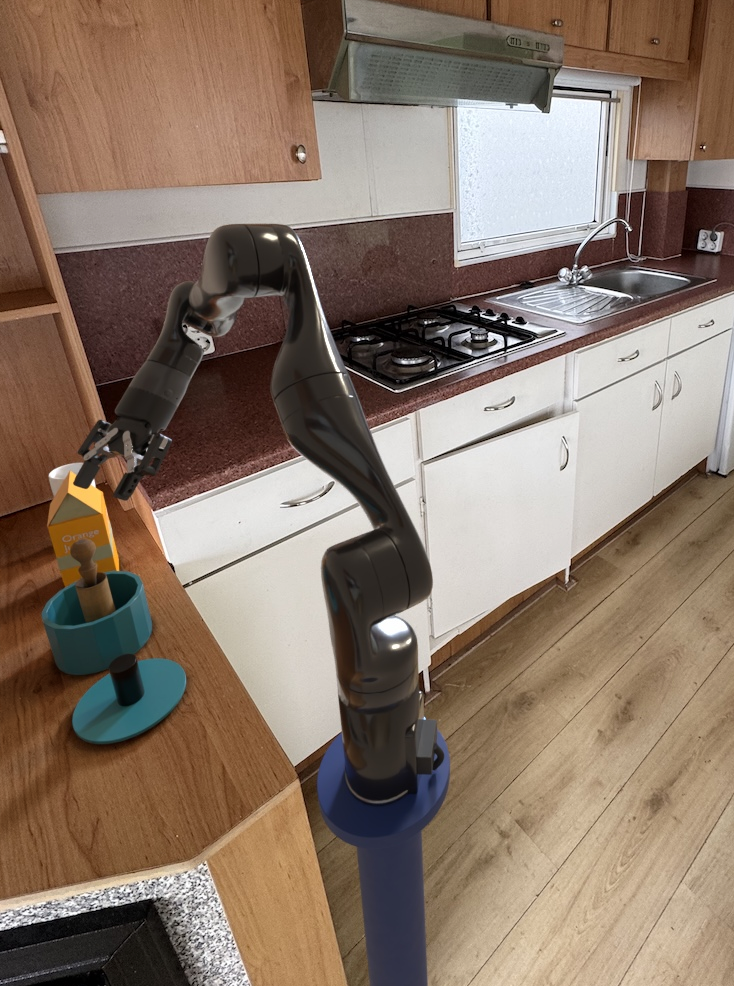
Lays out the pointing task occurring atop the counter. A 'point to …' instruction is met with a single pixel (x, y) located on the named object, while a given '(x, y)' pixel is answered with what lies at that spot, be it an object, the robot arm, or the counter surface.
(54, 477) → the drinking glass
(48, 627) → the pot
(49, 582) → the counter surface
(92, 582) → the mortar and pestle
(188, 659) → the counter surface
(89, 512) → the orange juice
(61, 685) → the counter surface
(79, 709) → the lid
